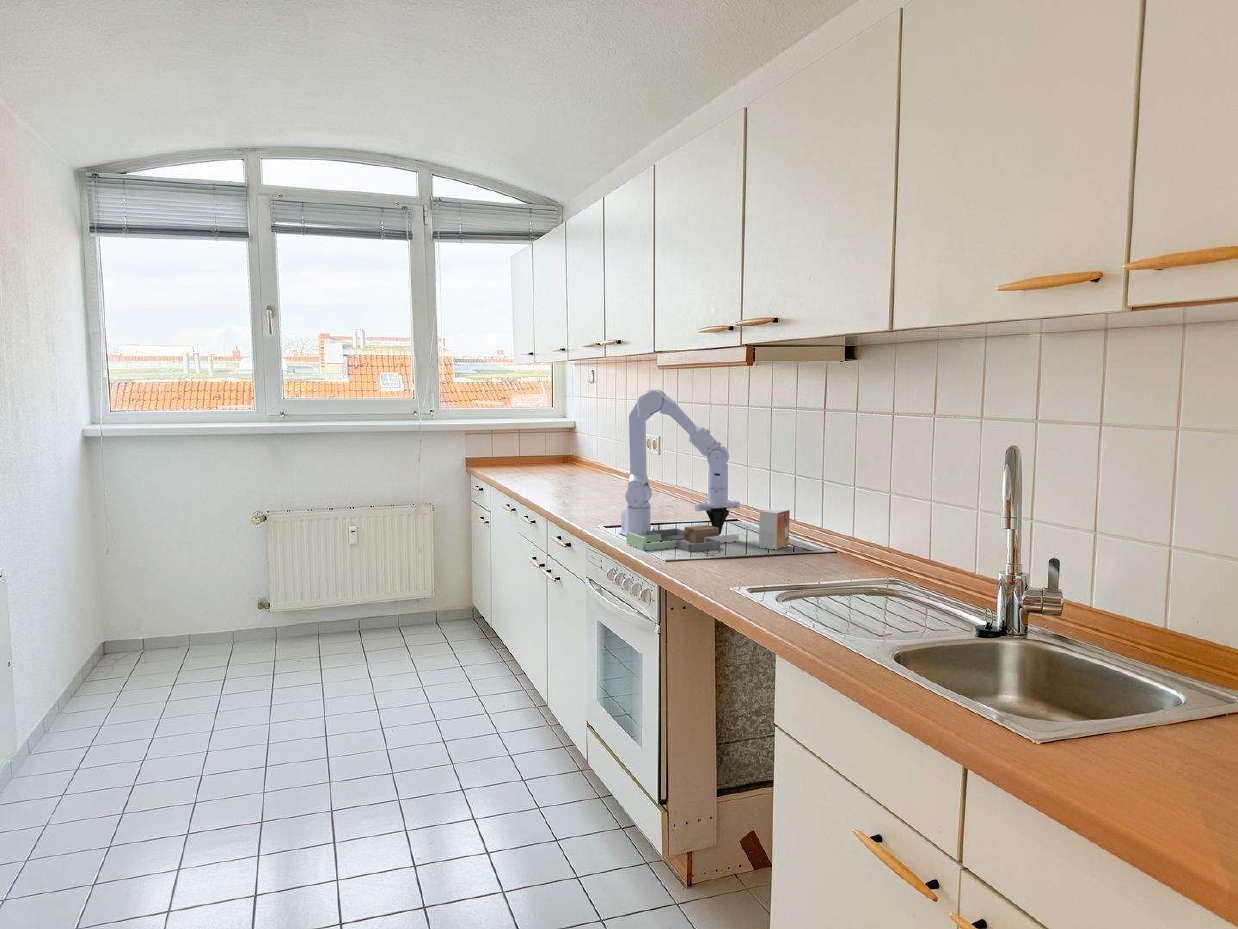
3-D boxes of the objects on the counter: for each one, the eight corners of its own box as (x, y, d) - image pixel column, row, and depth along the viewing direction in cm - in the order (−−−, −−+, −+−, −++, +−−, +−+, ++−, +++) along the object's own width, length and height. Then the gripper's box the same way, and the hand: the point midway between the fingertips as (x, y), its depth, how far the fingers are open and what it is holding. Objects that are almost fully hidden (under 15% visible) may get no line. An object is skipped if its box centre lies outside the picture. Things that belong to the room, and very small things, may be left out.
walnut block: (684, 540, 247) (684, 526, 246) (707, 538, 251) (707, 524, 250) (695, 543, 242) (695, 530, 241) (718, 541, 245) (718, 527, 245)
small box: (776, 550, 233) (777, 513, 232) (758, 548, 236) (759, 511, 235) (789, 546, 239) (790, 509, 238) (771, 543, 242) (772, 507, 241)
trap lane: (616, 540, 246) (616, 528, 245) (706, 532, 260) (706, 520, 260) (655, 555, 225) (656, 542, 225) (751, 545, 240) (752, 533, 240)
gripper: (704, 491, 240) (704, 538, 241) (746, 488, 247) (745, 534, 248) (691, 488, 246) (690, 534, 247) (732, 485, 253) (731, 530, 254)
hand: (717, 533), depth 248 cm, fingers closed
